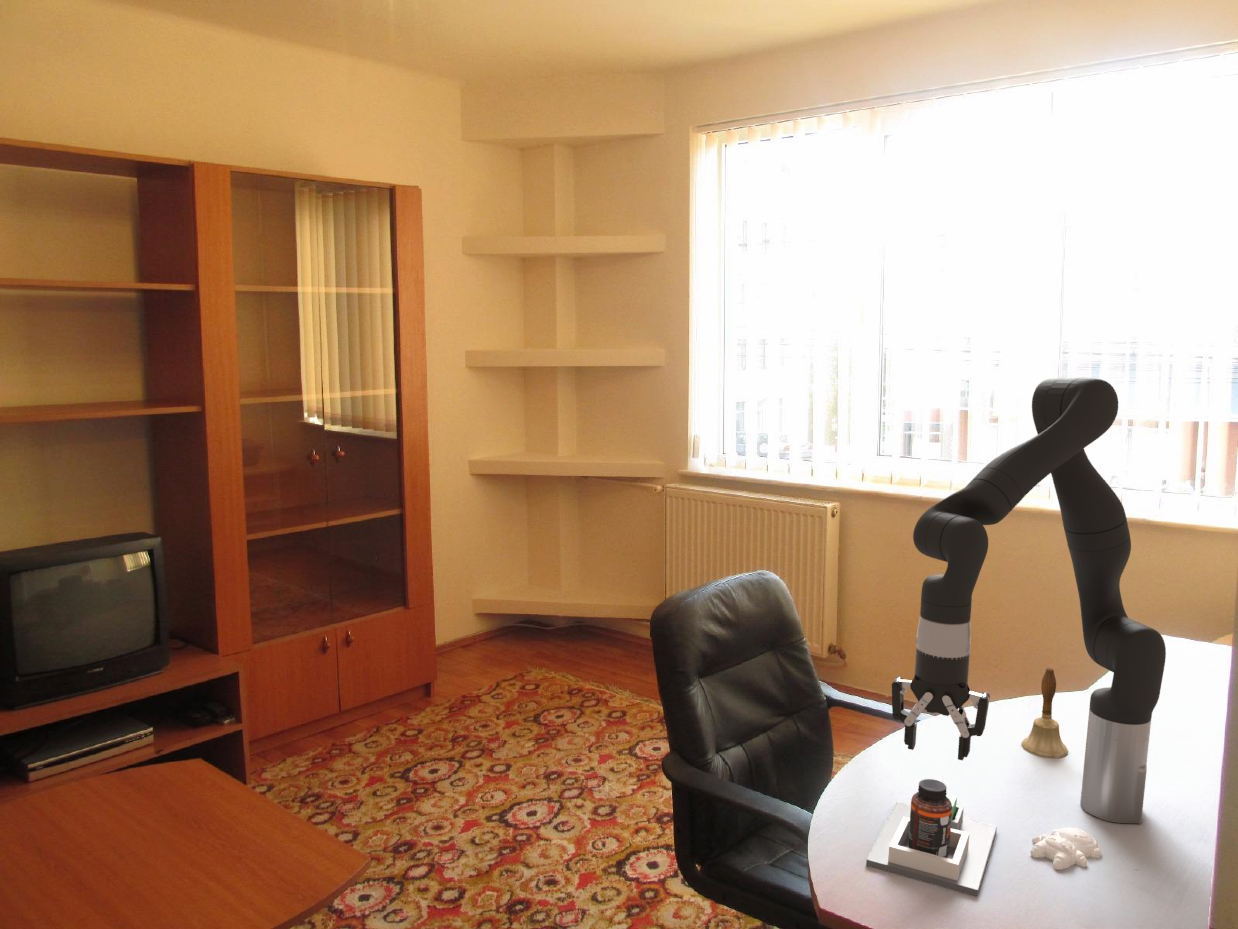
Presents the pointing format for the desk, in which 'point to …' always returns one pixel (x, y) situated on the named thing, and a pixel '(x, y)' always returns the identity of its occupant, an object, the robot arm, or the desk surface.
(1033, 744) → the hand bell
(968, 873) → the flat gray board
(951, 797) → the button
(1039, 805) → the desk surface
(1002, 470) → the robot arm
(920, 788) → the supplement bottle
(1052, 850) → the astronaut figurine
